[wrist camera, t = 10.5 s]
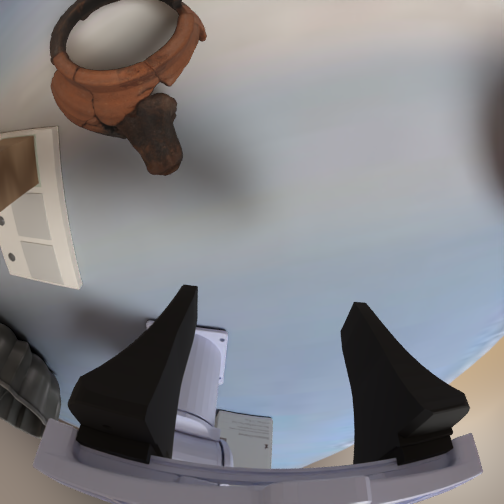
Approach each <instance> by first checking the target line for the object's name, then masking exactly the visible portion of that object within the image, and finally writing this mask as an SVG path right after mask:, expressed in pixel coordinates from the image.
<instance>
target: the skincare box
mask: <svg viewBox="0 0 504 504" xmlns="http://www.w3.org/2000/svg"><path fill="white" fill-rule="evenodd" d="M214 427H215V428H218V429H220V430H221V431H220V439H222V440H224V441H226V442H227V444H228V446H229V448H230V450H231V452H232V455H233V467H241V468H261V469H271V457H272V434H273V420H272V418H268V417H257V416H250V415H243V414H236V413H231V412H227V411H222V410H220V411H219V412H218V414H217V416H216V417H215V423H214ZM229 486H241V485H229Z"/></svg>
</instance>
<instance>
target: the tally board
mask: <svg viewBox="0 0 504 504" xmlns="http://www.w3.org/2000/svg"><path fill="white" fill-rule="evenodd" d="M24 136H34V146H35V157H36V166H37V174H38V181H39V184H37V185H36V186H35V187H33V188H32V189H30V190H29V191H27V192H26V193H25V194H23V195H22V196H21V197H19V198H18V199H17V200H15V201H14V202H13V203H11V204H10V205H9V206H8V207H6V208H5V209H4V210H2V211H1V212H0V246H1V249H2V252H3V255H4V258H5V261H6V264H7V267H8V270H9V272H10V274H11V275H15V276H20V277H24V278H28V279H32V280H36V281H41V282H45V283H50V284H54V285H59V286H64V287H69V288H73V289H78V290H80V288H81V287H82V285H83V283H82V279H81V276H80V272H79V268H78V263H77V259H76V255H75V251H74V246H73V241H72V236H71V231H70V226H69V221H68V215H67V209H66V202H65V196H64V188H63V181H62V172H61V162H60V150H59V134H58V126H55V127H45V128H36V129H27V130H20V131H13V132H6V133H0V140H2V139H7V138H15V137H24Z"/></svg>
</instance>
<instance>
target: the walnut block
mask: <svg viewBox="0 0 504 504" xmlns="http://www.w3.org/2000/svg"><path fill="white" fill-rule="evenodd" d="M37 184H39V181H38V174H37V166H36V157H35V146H34V136H24V137H15V138H7V139H2V140H0V212H1V211H2V210H4V209H5V208H6V207H8V206H9V205H10V204H11V203H13V202H14V201H15V200H17V199H18V198H19V197H21V196H22V195H23V194H25V193H26V192H27V191H29V190H30V189H32V188H33V187H35V186H36V185H37Z"/></svg>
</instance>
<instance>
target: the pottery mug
mask: <svg viewBox="0 0 504 504" xmlns="http://www.w3.org/2000/svg"><path fill="white" fill-rule="evenodd" d="M117 1H120V0H77V1H76V2H75V3H74V4H73V5H71V6H70V7H69V8H68V10H67V11H66V12H65V13H64V14H63V15H62V16H61V17H60V19H59V21H58V22H57V24H56V26H55V27H54V30H53V32H52V34H51V41H50V55H51V63H52V64H53V65H55V67H56V68H57V71H56V72H55V73H54V77H53V78H52V83H51V90H52V93H53V96H54V99H55V101H56V103H57V105H58V107H59V108H60V110H61V111H62V112H63V113H64V115H65V116H66V117H67V118H68V119H69V120H70V121H71V122H73V123H74V124H76V125H78V126H79V127H82V128H85V129H87V130H90V131H93V132H96V133H99V134H103V135H107V136H112V137H119V138H122V139H128V140H129V141H130V143H131V144H132V146H133V147H134V148H135V149H136V150H137V151H138V152H139V154H140V155H141V157H142V159H143V161H144V162H145V164H146V167H147V170H148V172H149V173H150V174H152V175H165V176H166V175H169V174H171V173H173V172H175V171H176V170H178V168H179V166H180V163H181V161H182V158H183V152H182V148H181V145H180V142H179V140H178V138H177V135H176V132H175V129H174V126H173V122H174V119H175V117H176V114H175V112H176V111H177V108H176V106H177V102H176V100H175V99H174V98H172V97H170V96H169V95H167V94H164V93H156V94H153V95H150V94H151V92H152V91H153V89H154V87H155V86H156V85H157V84H158V83H159V82H161V83H164V84H165V85H166V86H171V85H172V84H173V83H174V82H175V81H176V79H177V78H178V77H179V75H180V74H181V73H182V71H183V69H184V68H185V67H186V65H187V64H188V63H189V61H190V59H191V56H192V54H193V52H194V50H195V48H196V46H197V44H198V40H200V41H205V40H206V37H207V35H206V32H205V28H204V25H203V24H202V22H201V20H200V19H199V17H198V16H197V15H196V14H195V12H193V11H192V10H191V9H190V8H189V7H188V6H187V5H186V4H185V3H183V2H182V0H160V1H162V2H165V3H166V4H168V5H169V6H171V7H172V8H173V9H174V10H176V11H177V12H178V14H179V17H178V21H177V27H176V29H175V32H174V34H173V36H172V37H171V38H170V40H169V41H168V42H167V43H166V44H165V45H164V46H163V47H162V48H161V49H159V50H158V51H157V52H155V53H154V54H153V55H151V56H150V57H148V58H147V59H146V60H145V61H143V62H139V63H136V64H134V65H131V66H128V67H123V68H119V69H114V70H102V71H100V70H89V69H85V68H82V67H80V66H78V65H76V64H75V63H73V62H72V61H71V60H70V58H69V56H68V54H67V53H66V43H67V39H68V36H69V34H70V32H71V30H72V28H73V27H74V26H75V25H76V23H77V22H78V21H79V20H85V19H86V18H87V17H88V16H89V15H90V14H91V13H92V12H93V11H95V10H97V9H99V8H100V7H102V6H104V5H107V4H110V3H113V2H117Z"/></svg>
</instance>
